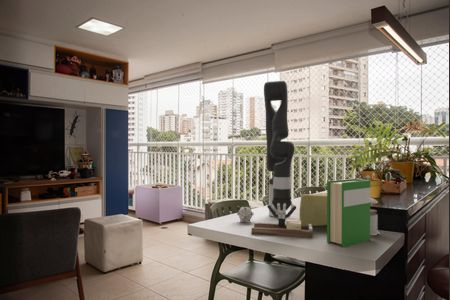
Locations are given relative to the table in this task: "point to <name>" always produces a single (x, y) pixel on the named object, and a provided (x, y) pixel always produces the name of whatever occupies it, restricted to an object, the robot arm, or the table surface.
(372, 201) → the french press
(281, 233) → the chute
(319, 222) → the cheese
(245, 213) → the grey bumpy ball
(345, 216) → the hardback book
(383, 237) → the table surface
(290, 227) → the maple block
